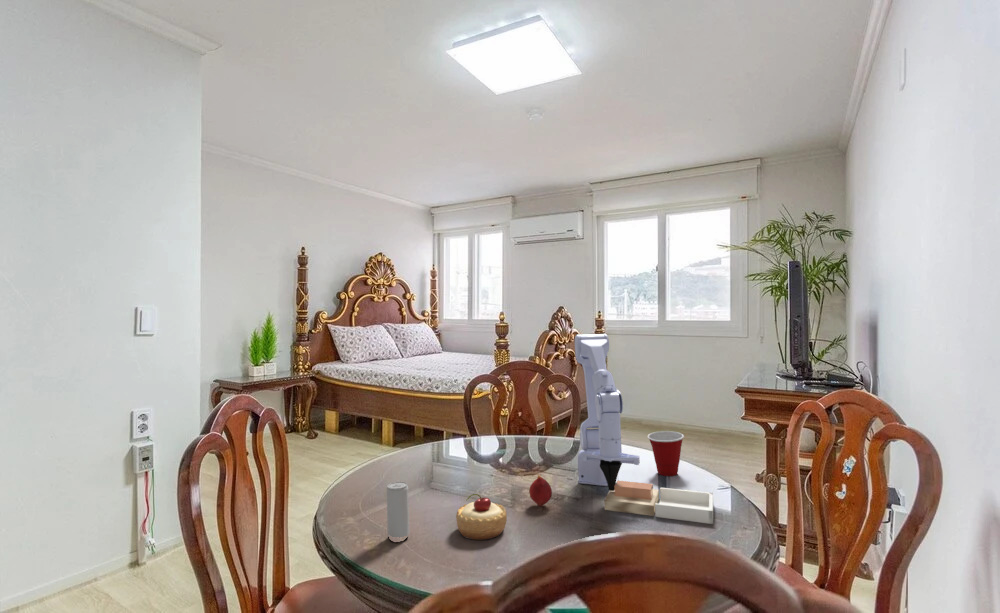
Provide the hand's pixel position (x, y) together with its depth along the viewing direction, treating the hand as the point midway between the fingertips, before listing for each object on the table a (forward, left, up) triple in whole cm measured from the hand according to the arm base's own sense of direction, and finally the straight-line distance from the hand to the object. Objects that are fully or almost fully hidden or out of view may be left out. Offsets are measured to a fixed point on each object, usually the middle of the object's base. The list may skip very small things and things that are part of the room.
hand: (611, 489), depth 128 cm
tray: (+18, 0, -3) cm, 18 cm away
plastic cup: (+11, +29, -3) cm, 31 cm away
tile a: (+3, 0, -1) cm, 3 cm away
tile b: (+8, 0, -1) cm, 8 cm away
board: (+5, 0, -3) cm, 6 cm away
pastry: (-25, -28, -3) cm, 38 cm away
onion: (-17, -9, -3) cm, 19 cm away
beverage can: (-41, -38, -3) cm, 56 cm away
